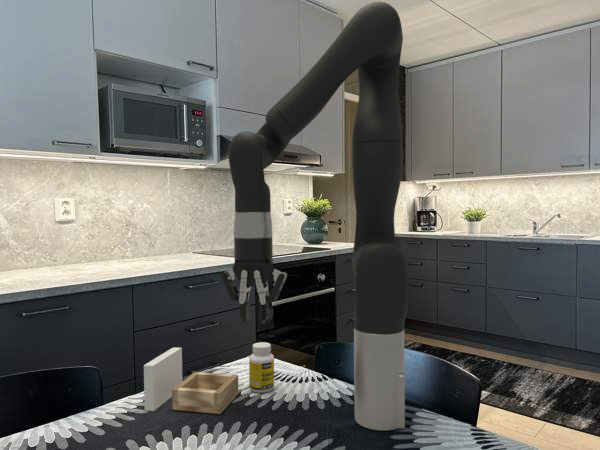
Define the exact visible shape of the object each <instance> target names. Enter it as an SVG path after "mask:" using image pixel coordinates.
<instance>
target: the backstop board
mask: <svg viewBox="0 0 600 450" xmlns="http://www.w3.org/2000/svg"><path fill="white" fill-rule="evenodd" d="M182 349H183V348H182V347H172V348H170V349H168V350H166V351H165V352H163V353H161V354H159V356H158V355H157V356H156V357H155V358H153V359H152V360H150V361H149V362H147V363H145V364H144V365H143V384H144V385H143V391H144V392H143V393H144V394H143V395H144V397H143V399H144V411H148V412H155V411H156V410H157V409H159V408H160V407H161V406H162V405H163V404H165V403H166V402H167V401H168V400H169V399H171V398H172V389H174V388H175V387H176V386H177V385H179V384H180V383H181V382H183V354H182V353H183V350H182Z"/></svg>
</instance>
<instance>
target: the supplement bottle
mask: <svg viewBox="0 0 600 450" xmlns="http://www.w3.org/2000/svg"><path fill="white" fill-rule="evenodd" d="M271 351H272V345H271V344H270V342H262V341H260V342H256V343H253V344H252V352H253V353H251V354H250V356H249V360H248V362H249V365H248V366H249V369H248V370H249V373H248V374H249V377H248V378H249V379H248V380H249V383H248V384H249V389H250V391H251V392H253V393H259V394H262V393H263V394H264V393H268V392H271V391H273V389H274V388H275V356H274V355H273V353H271Z"/></svg>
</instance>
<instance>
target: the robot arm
mask: <svg viewBox="0 0 600 450" xmlns="http://www.w3.org/2000/svg"><path fill="white" fill-rule="evenodd" d="M403 39H404V35H403V27H402V21H401V18H400V15H399V13H398V11H397V10H396V8H395V7H393V6H392V5H391V4H389V3H386V2H384V1H372V2H369V3H367V4H365V5H363V6H362V7H361V8H359V10H357V12H356V13H355V14H354V15H353V16H352V17H351V18H350V20H349V21H348V23H347V24H346V25H345V26H344V28H343V29H342V30H341V32H340V33H339V34H338V35H337V37H336V39H335V40H334V41H333V42H332V43H331V45H330V46H329V47H328V49H326V51H325V52H324V53H323V54H322V55H321V57H320V58H319V59H318V60H317V61H316V63H315V64H314V65H313V66H312V67H311V68H310V69H309V70H308V71H307V72H306V74H304V76H303V77H302V78H301V79H300V80H299V81H298V82H297V83H296V84H295V85H294V86H292V88H291V89H290V90H289V91H288V92H286V93H285V95H283V96H282V97H281V98H280V99H279V100H278V101H277V102H276V103H275V104H274V105H273V106H272V107H270V109H269V110H268V111H267V113H266V115H265V123H264V124H263V125H262V126H261V127H260V128H259V130H258V131H256V132H252V131H247V130H246V131H241V132H238V133H237V134H236V135H234V137H233V138H232V139H231V141H230V144H229V148H228V163H229V171H230V175H231V181H232V184H233V187H234V212H235V213H234V222H233V236H234V237H233V243H234V247H233V252H234V253H233V254H234V256H233V258H234V263H233V265H232V268H231V269H229V270H226V271H224V272H221V273H220V278H221V280H222V283H223V285H224V287H225V289H226V291H227V293H228V296H229V298H230V300H231V301H235V302H238V303H239V314H240V315H239V317H240V320H242V322H243V323H244V324H245V323H248V322H250V320H251V309H250V307H251V306H250V305H251V304H250V303H251V302H250V301H249V298H250V291H251V290H252V287H255V288H256V292H257V294H258V298H259V307H258V308H259V309H258V310H259V311H258V312H259V319H258V320H259V324H265V323H266V321H268V319H269V316H270V311H269V310H270V303H272V302H274V301H276V300H277V299H278V298H279V296H280V293H281V291H282V289H283V287H284V284H285V282H286V279H287V278H288V273H287V272H286V271H283V272H282V271H281V270H279V269H276V266H275V265H274V262H273V260H274V259H273V256H274V255H273V253H274V252H273V221H272V214H271V212H272V210H271V209H272V208H271V206H272V205H271V190H270V186H269V185H268V184H267V183H266V179H265V170H266V169H267V168H269V166H271V165H272V164H273V163H274V162H275V161H276V160H277V159H278V158H279V156H280V155H281V154H282V153H283V152H284V150H285V149H286V148H287V147H288V145H289V143H290V142H291V141H292V140H293V139H294V138H295V137H296V136H297V135H299V134H300V133H301V132H302V131H303V130H304V129H305V128H307V126H308V125H310V123H311V122H312V121H313V120H315V119H316V118H317V117H318V115H320V113H321V112H322V111H323V110H324V108H325V107H327V106H326V105H327V104H328V103H329V101H331V99H332V98H333V96H334V94H335V93H336V92H337V91H338V89H339V88H340V86H341V85H342V84H343V83H344V82H345V81H346V80H347V79H348V78H349V77H350V76H351V75H352V74H353V73H354V72H355V71H357V74H358V86H359V87H358V88H359V89H358V103H357V105H356V112H355V116H354V122H353V128H352V129H353V130H352V140H351V141H352V142H351V144H352V147H351V148H352V149H351V152H352V156H351V157H352V158H351V161H352V162H351V163H352V180H353V194H354V204H355V229H354V230H355V232H354V233H355V234H354V241H353V242H354V243H353V251H352V259H351V267H352V273H353V275H354V277H355V308H354V309H355V310H354V313H353V357H354V358H353V361H354V363H353V370H354V371H353V375H354V380H353V381H354V382H353V384H354V385H353V386H354V389H353V390H354V392H353V393H354V394H353V395H354V396H353V397H354V405H353V409H354V420H355V422H356V424H358V425H359V426H361V427H363V428H366V429H370V430H373V431H394V430H396V429H403V430H404V429H405V428H406V403H405V402H406V391H405V390H406V379H405V378H406V374H405V372H406V371H405V370H406V369H405V366H406V365H405V324H406V323H405V321H406V318H407V313H408V297H409V294H408V293H409V274H408V273H409V271H408V264H407V258H406V257H405V255H404V254H403V252H402V251H401V250H400V249H399V248H398V247H397V242H396V234H395V233H396V230H395V211H396V206H397V205H396V204H397V200H398V195H399V191H400V186H401V182H402V176H403V165H404V161H403V160H404V158H403V157H404V155H403V154H404V153H403V152H404V151H403V141H404V140H403V126H402V124H403V123H402V114H401V108H400V102H399V100H400V99H399V77H400V76H399V75H400V64H401V55H402V48H403V43H404V41H403ZM235 276H236V277H235ZM272 276H273V281H274V282H275V283H274V285H273V287H272V290H271V292H270V293H269V285H268V282H269V280H270V279H271V277H272ZM235 278H237V280H238V281H239V282H240V285H239V289H238V287H237V284H236V282H235Z"/></svg>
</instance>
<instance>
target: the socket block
mask: <svg viewBox="0 0 600 450" xmlns="http://www.w3.org/2000/svg"><path fill="white" fill-rule="evenodd" d="M238 395H239V375H238V374H227V373H215V372H203V371H201V372H200V371H194V372H193V373H191V374H190V375H189V376H187V378H185V379H184V380H182V382H181V383H180V384H179V385H177V386H176V387H175V388H174V389H172V397H171V398H172V410H174V411H183V412H193V413H194V412H196V413H205V414H217V415H221V414H222V413H223V412H224V411H225V410H226V408H227V407H228V406H229V405H230V403H231V402H233V400H234V399H235V398H236V397H237V396H238Z"/></svg>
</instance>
